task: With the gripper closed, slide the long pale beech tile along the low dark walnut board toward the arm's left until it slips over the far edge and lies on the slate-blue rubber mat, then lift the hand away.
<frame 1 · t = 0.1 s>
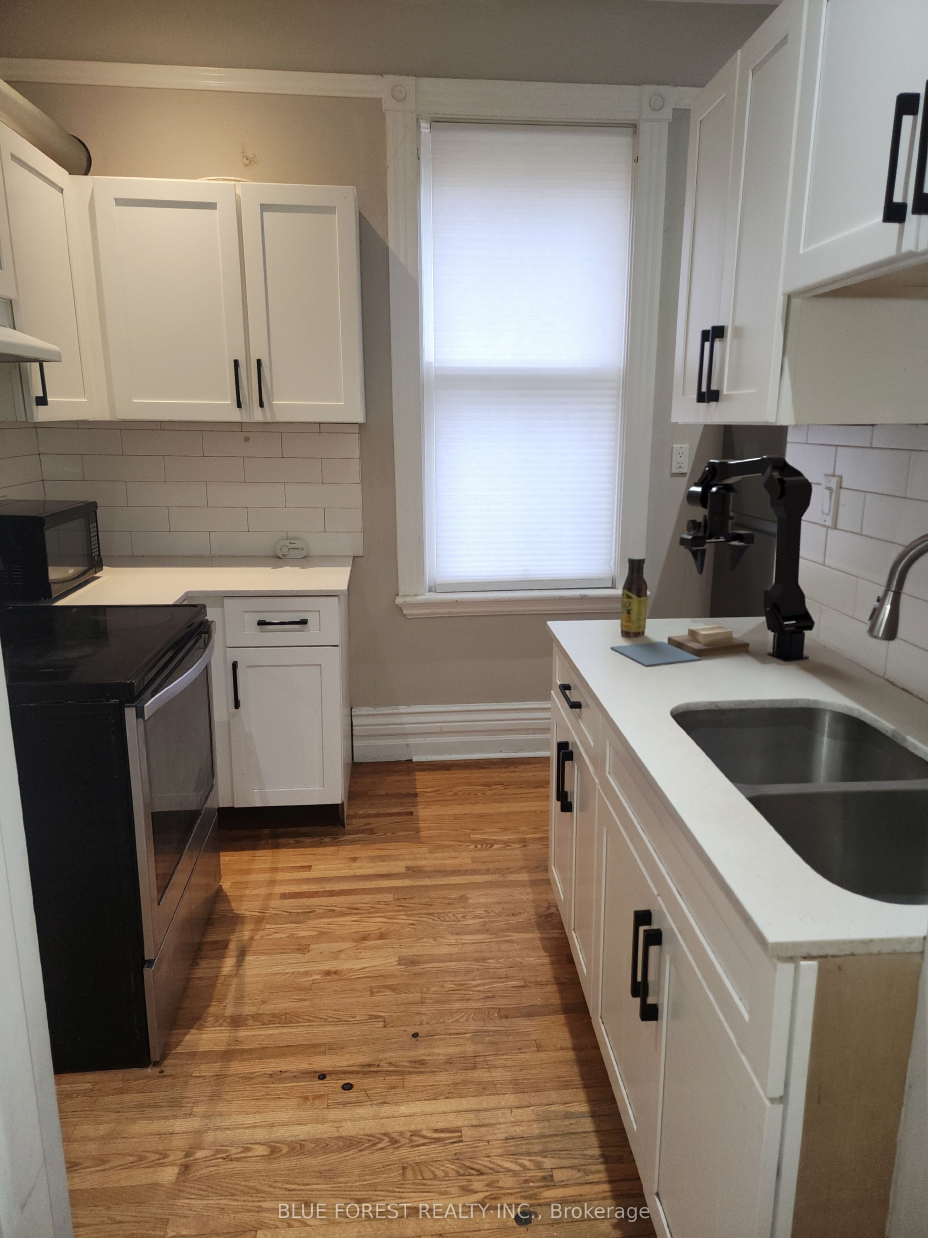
hand: (715, 573, 205), 15 cm above the worktop, tool pointing down, fingers open, 9 cm apart
rubber mat: (654, 654, 186), on the worktop
walnut board: (707, 648, 191), on the worktop
beech tile: (710, 634, 190), point 3 cm above the worktop, touching walnut board
sauce bottle: (632, 636, 203), on the worktop
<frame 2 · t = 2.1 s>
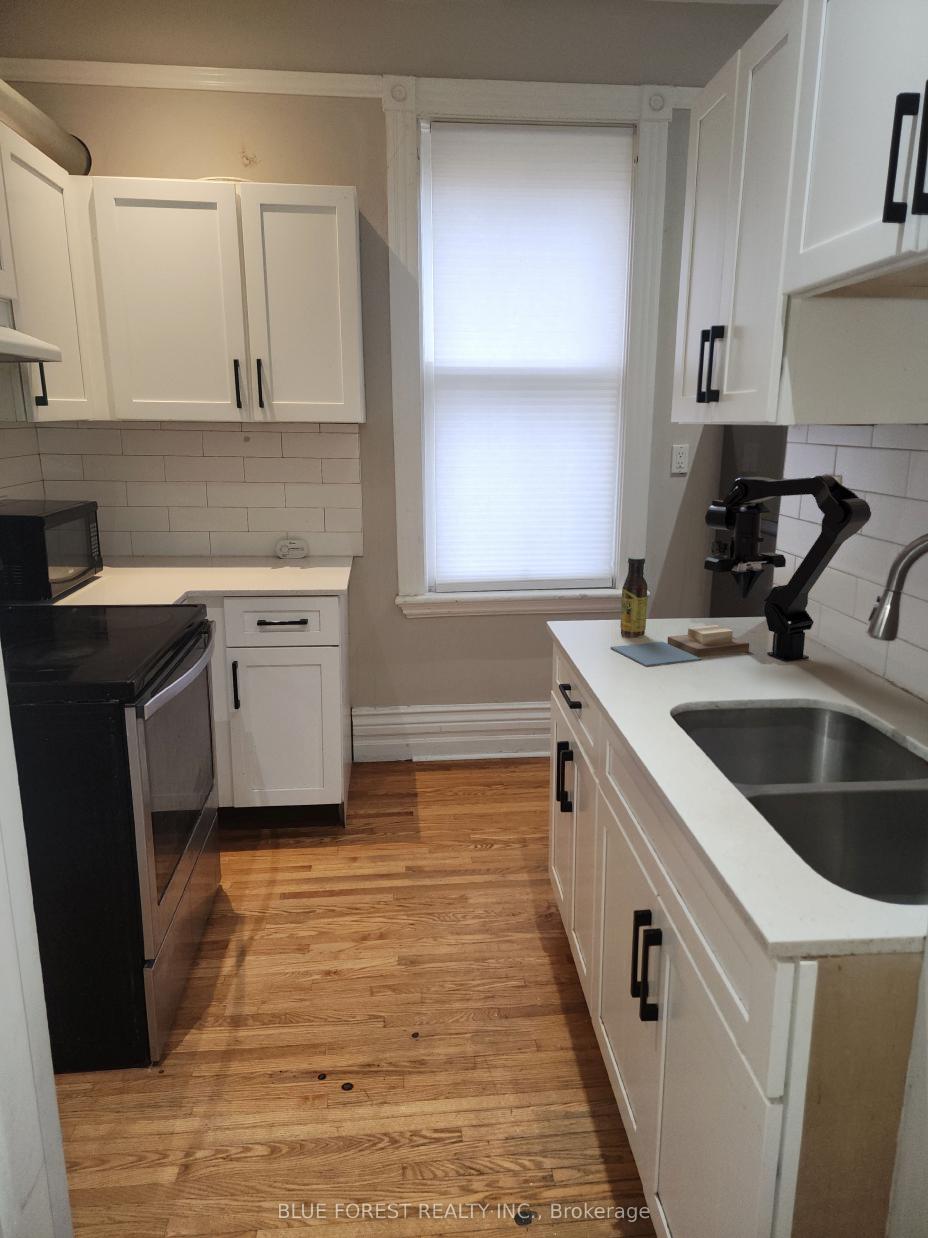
hand: (743, 598, 191), 11 cm above the worktop, tool pointing down, fingers closed
nothing on the worktop moved.
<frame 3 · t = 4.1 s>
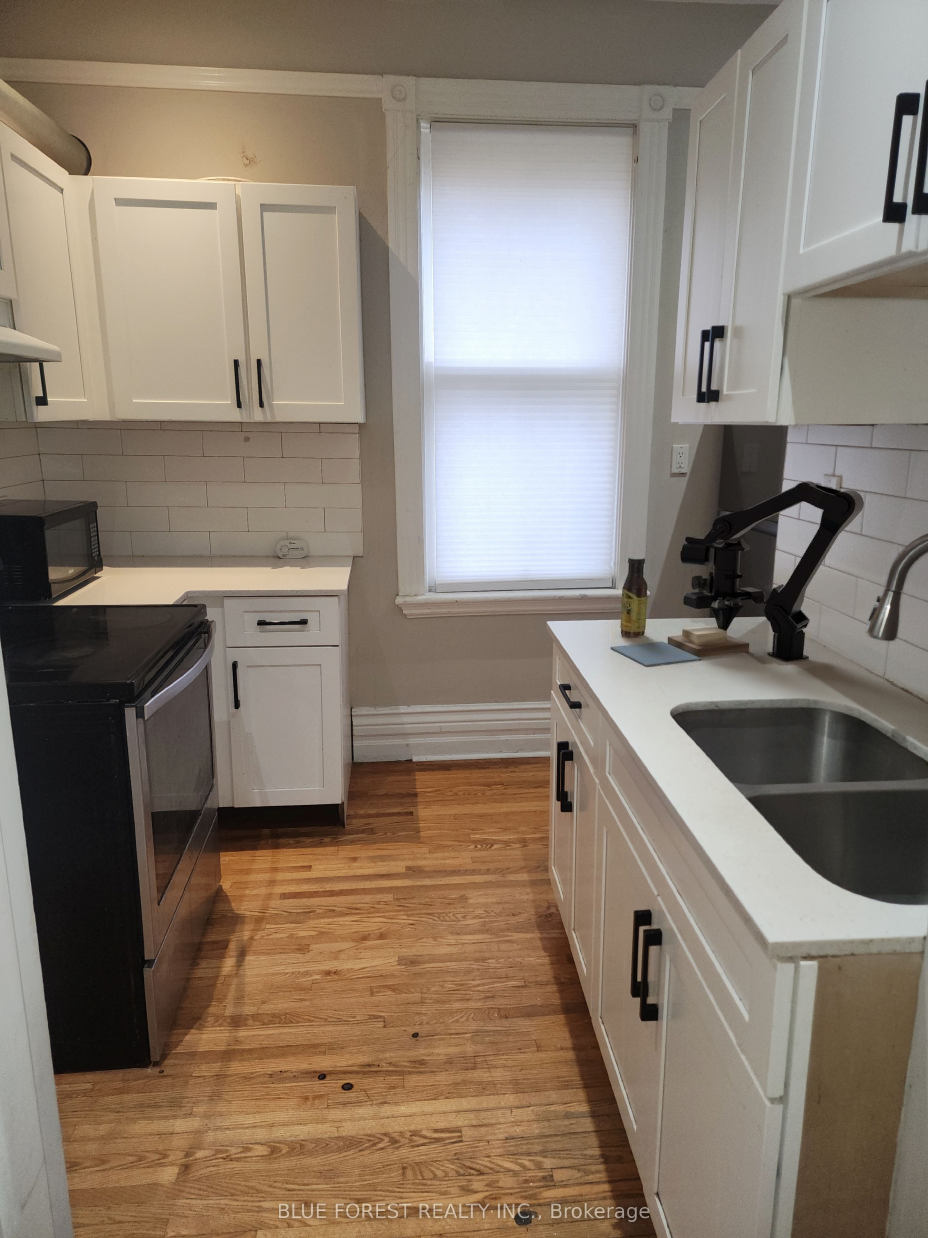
hand: (722, 633, 191), 3 cm above the worktop, tool pointing down, fingers closed
beech tile: (704, 635, 189), point 3 cm above the worktop, touching gripper, walnut board
everything else where it was.
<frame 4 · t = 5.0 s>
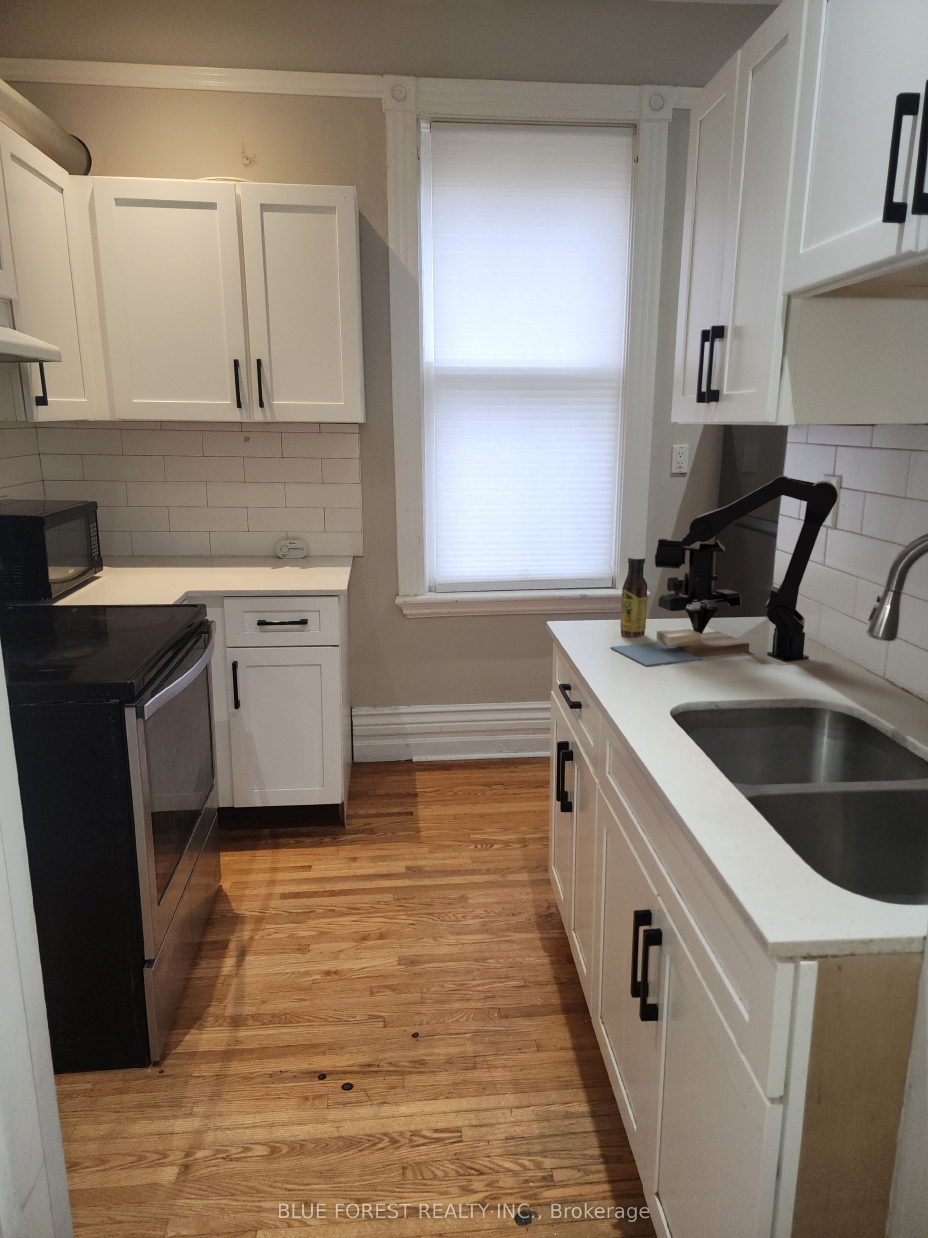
hand: (697, 636, 189), 3 cm above the worktop, tool pointing down, fingers closed
beech tile: (678, 637, 188), point 3 cm above the worktop, touching gripper
everything else where it was.
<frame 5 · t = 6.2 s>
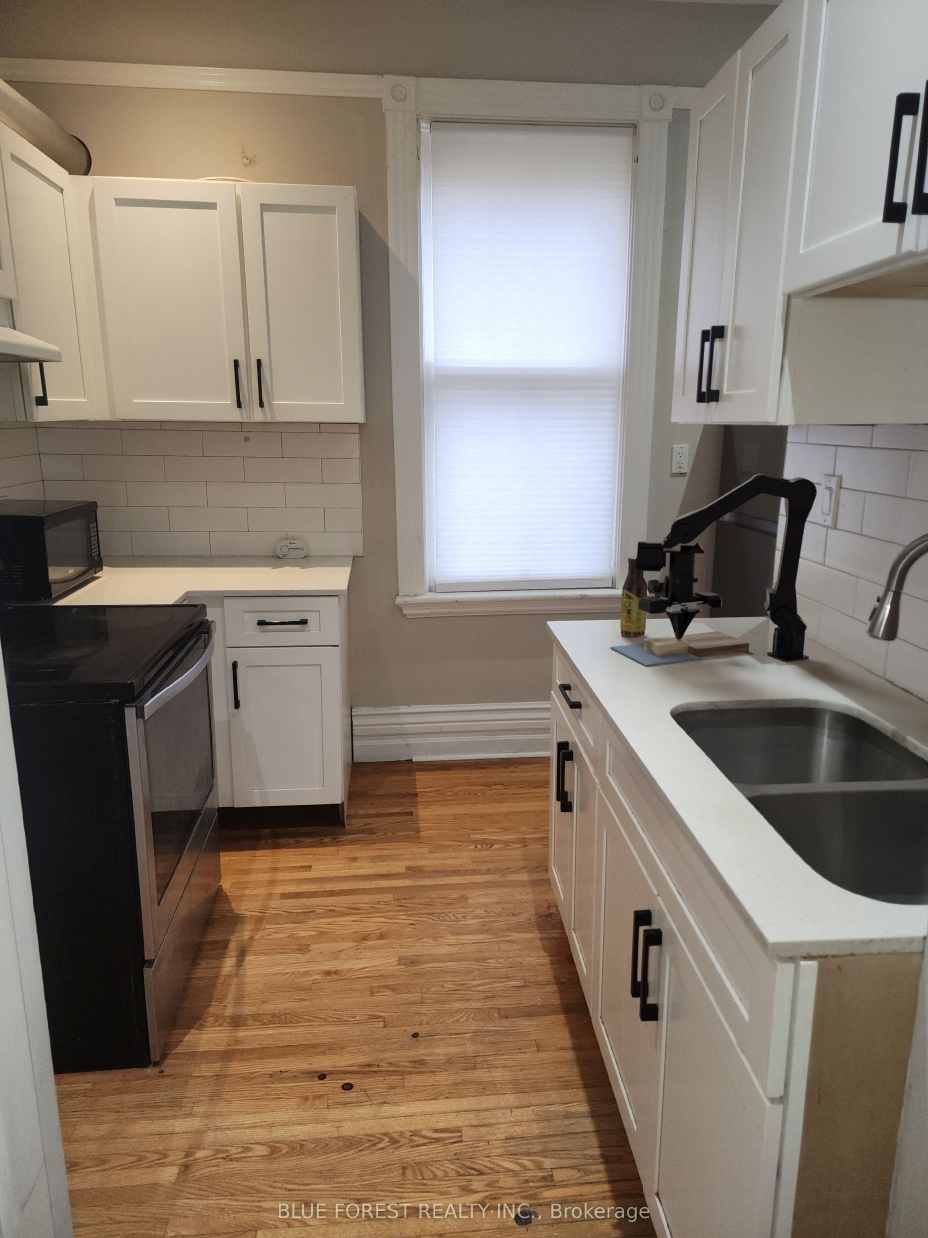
hand: (678, 638, 187), 3 cm above the worktop, tool pointing down, fingers closed
beech tile: (665, 645, 187), point 2 cm above the worktop, touching rubber mat
everything else where it was.
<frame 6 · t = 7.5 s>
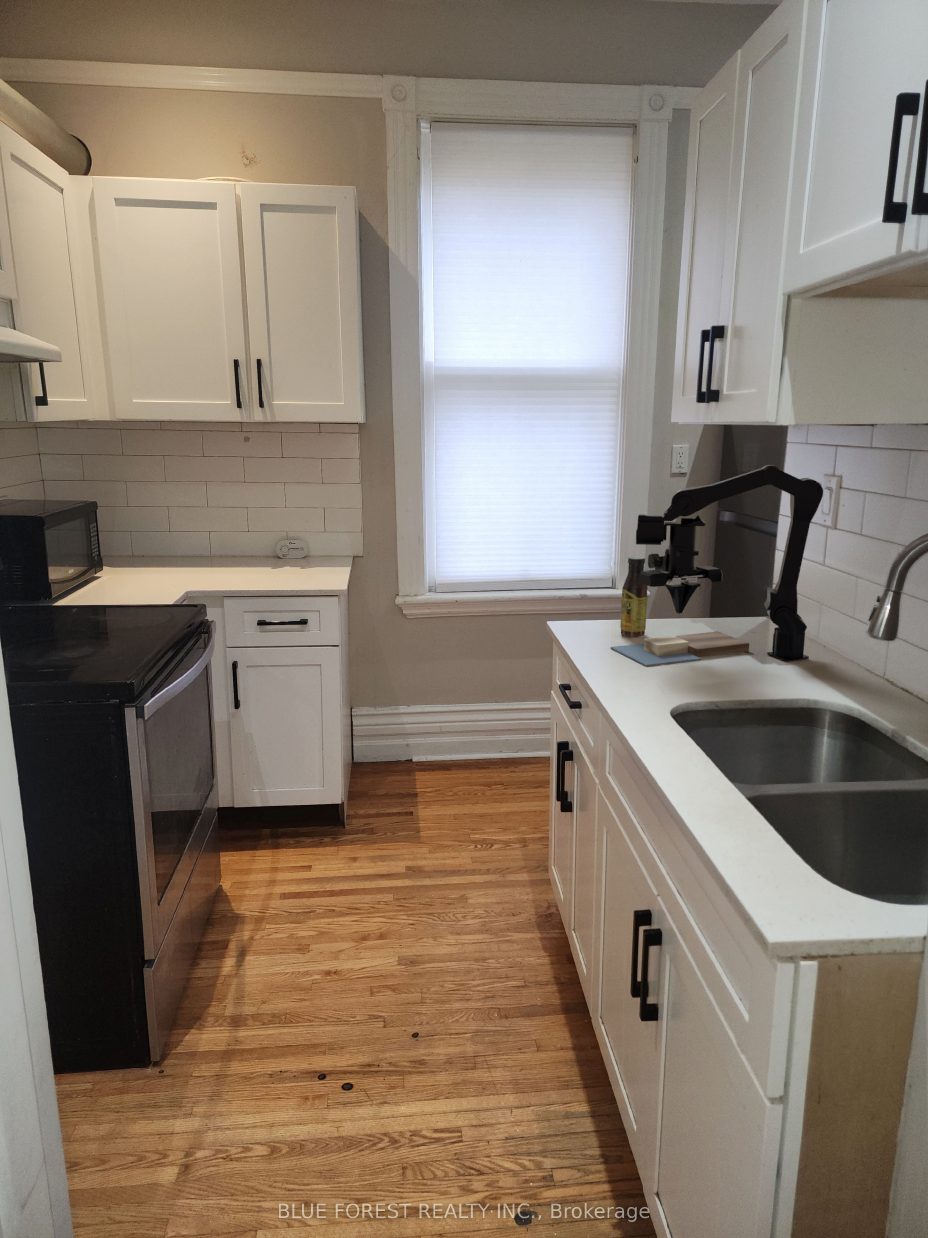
hand: (678, 613, 186), 9 cm above the worktop, tool pointing down, fingers closed
nothing on the worktop moved.
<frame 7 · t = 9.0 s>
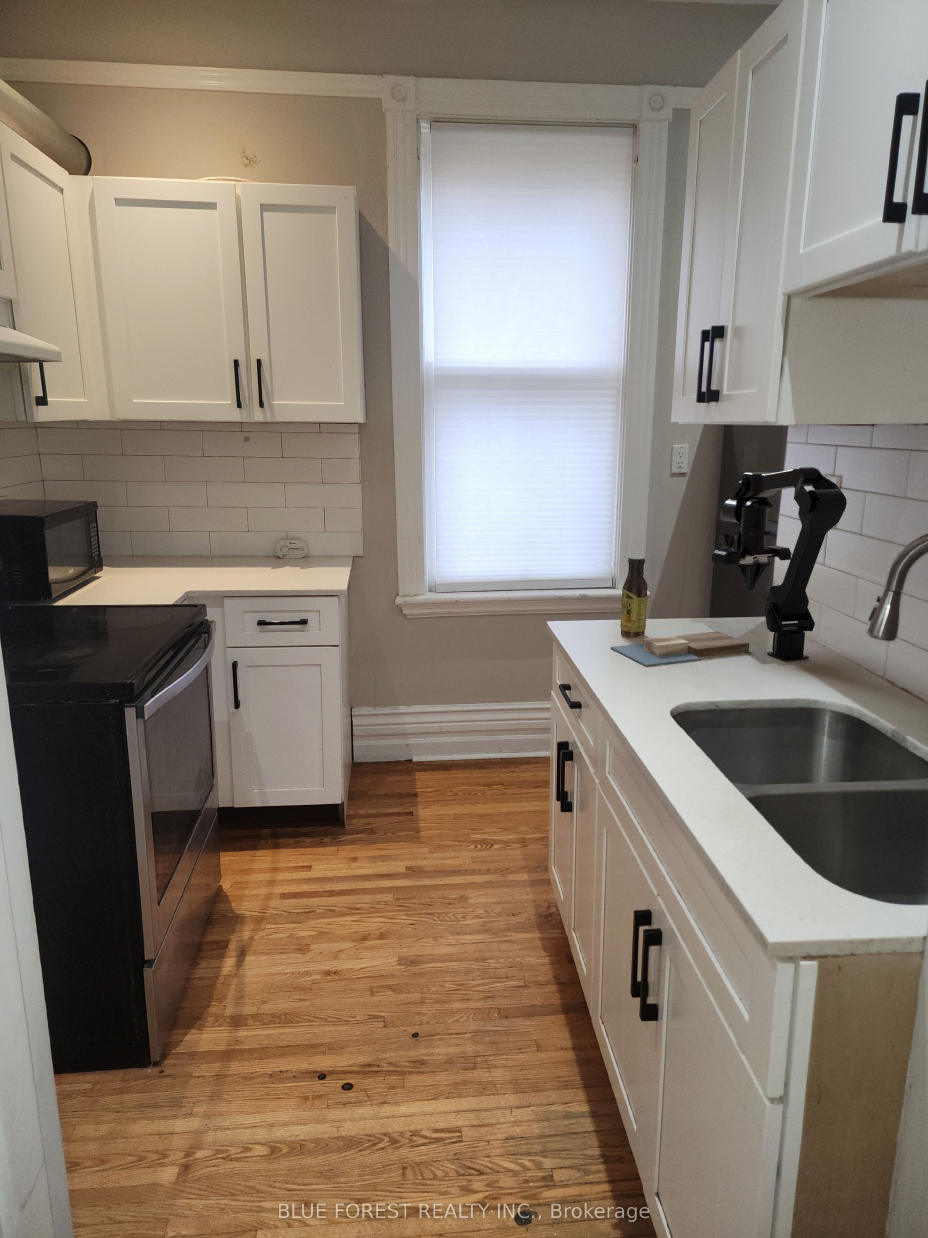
hand: (749, 590, 196), 12 cm above the worktop, tool pointing down, fingers closed
nothing on the worktop moved.
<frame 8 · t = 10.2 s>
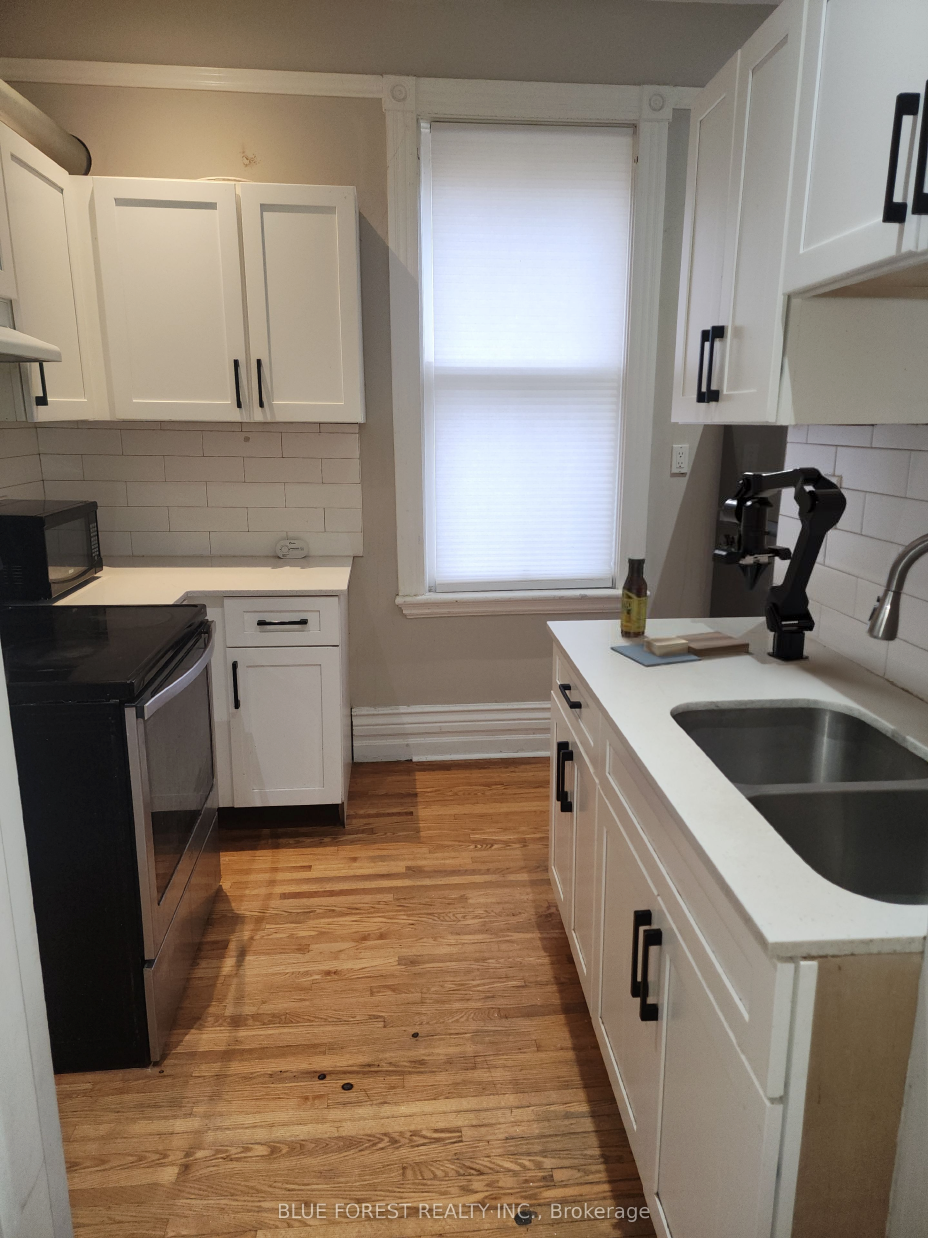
hand: (749, 590, 196), 12 cm above the worktop, tool pointing down, fingers closed
nothing on the worktop moved.
at the end: beech tile point 1.6 cm above the worktop; beech tile inside the target area on the rubber mat (3.1 cm from its centre), point 1.6 cm above the rubber mat's base; beech tile touching rubber mat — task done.
